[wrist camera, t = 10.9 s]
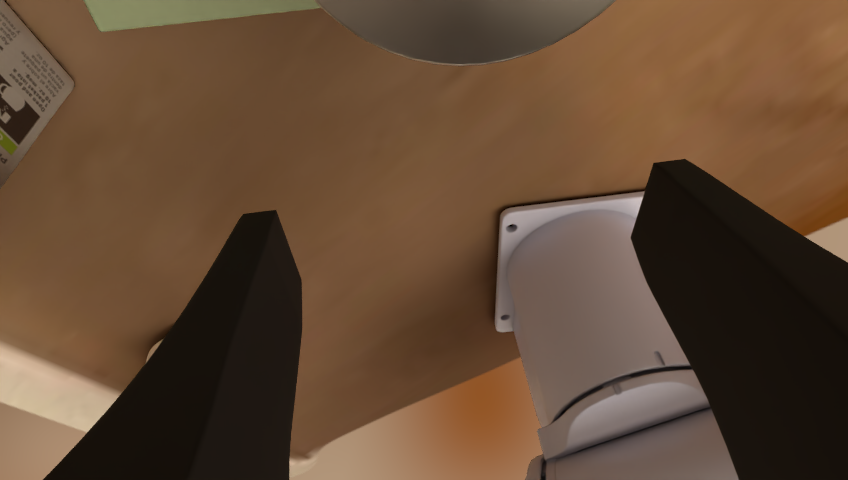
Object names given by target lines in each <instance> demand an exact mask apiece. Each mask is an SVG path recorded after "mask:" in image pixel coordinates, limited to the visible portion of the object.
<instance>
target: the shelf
mask: <svg viewBox="0 0 848 480" xmlns="http://www.w3.org/2000/svg"><path fill="white" fill-rule="evenodd" d="M83 1H84V2H85V4H86V6H87V8H88V10H89V12H90V14H91V16H92V18H93V20H94V22H95V24H96V26H97V28H98V30H99V31H100V32H108V31H117V30H126V29H135V28H144V27H153V26H162V25H172V24H181V23H190V22H199V21H208V20H217V19H226V18H235V17H244V16H254V15H263V14H272V13H281V12H290V11H299V10H308V9H317V8H321V7H320V6H319V5H318V4H317V3H316V2H315V1H314V0H83Z"/></svg>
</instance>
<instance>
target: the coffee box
mask: <svg viewBox="0 0 848 480" xmlns="http://www.w3.org/2000/svg"><path fill="white" fill-rule="evenodd" d="M74 86H75V84H74V81H73V80H72V79H71V77H70V76H69V75H68V74H67V73H66V71H65V70H64V69H63V68H62V67H61V66H60V65H59V63H58V62H57V61H56V60H55V59H54V58H53V56H52V55H51V54H50V53H49V52H48V51H47V49H46V48H45V47H44V46H43V45H42V44H41V43H40V42H39V40H38V39H37V38H36V37H35V36H34V35H33V34H32V32H31V31H30V30H29V29H28V28H27V27H26V26H25V25H24V23H23V22H22V21H21V20H20V19H19V17H18V16H17V15H16V14H15V13H14V12H13V11H12V9H11V8H10V7H9V6H8V5H7V4H6V2H5V1H4V0H0V189H1V187H2V186H3V185H4V184H5V182H6V181H7V179H8V178H9V176H10V175H11V173H12V172H13V171H14V170H15V168H16V167H17V166H18V164H19V162H20V161H21V160H22V159H23V157H24V156H25V155H26V153H27V152H28V150H29V149H30V147H31V146H32V144H33V143H34V142H35V140H36V139H37V137H38V136H39V135H40V133H41V132H42V131H43V129H44V128H45V126H46V125H47V124H48V122H49V121H50V120H51V118H52V117H53V115H54V114H55V113H56V111H57V110H58V108H59V107H60V106H61V105H62V103H63V102H64V101H65V99H66V98H67V97H68V95H69V94H70V93H71V92H72V90H73V88H74Z"/></svg>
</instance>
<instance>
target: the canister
mask: <svg viewBox="0 0 848 480" xmlns="http://www.w3.org/2000/svg"><path fill="white" fill-rule="evenodd" d="M314 1H315V2H316V3H317V4H318V5H319V6H320V7H321V8H322V9H323V10H324V11H326V12H327V13H328V14H329V15H330V16H331V17H333V18H334V19H335V20H336V21H337V22H339V23H340V24H341V25H342V26H344V27H345V28H347V29H348V30H350V31H351V32H353V33H354V34H356V35H357V36H359V37H360V38H362V39H363V40H365V41H367V42H369V43H371V44H373V45H375V46H377V47H379V48H381V49H383V50H386V51H388V52H390V53H393V54H396V55H399V56H402V57H405V58H408V59H411V60H416V61H421V62H426V63H430V64H436V65H450V66H472V65H485V64H491V63H497V62H502V61H507V60H511V59H514V58H517V57H521V56H524V55H528V54H531V53H533V52H535V51H538V50H540V49H542V48H545V47H547V46H549V45H552V44H554V43H556V42H558V41H559V40H561V39H563V38H565V37H567V36H568V35H570V34H572V33H574V32H575V31H577V30H579V29H580V28H581V27H583V26H584V25H586V24H587V23H588V22H590V21H591V20H593V19H594V18H596V17H597V16H598V15H600V14H601V13H602V12H603V11H604V10H606V9H607V8H608V7H609V6H610V5H611V4H612V3H614V2H615V1H616V0H314Z"/></svg>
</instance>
